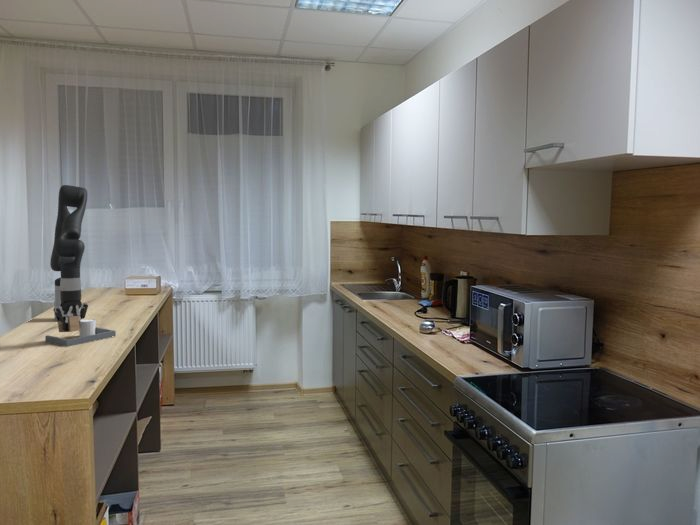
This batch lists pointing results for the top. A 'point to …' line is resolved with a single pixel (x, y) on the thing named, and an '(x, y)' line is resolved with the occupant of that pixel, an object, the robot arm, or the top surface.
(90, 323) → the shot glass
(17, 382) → the top surface
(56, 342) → the grey u-shaped bracket
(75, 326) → the block
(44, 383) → the top surface
